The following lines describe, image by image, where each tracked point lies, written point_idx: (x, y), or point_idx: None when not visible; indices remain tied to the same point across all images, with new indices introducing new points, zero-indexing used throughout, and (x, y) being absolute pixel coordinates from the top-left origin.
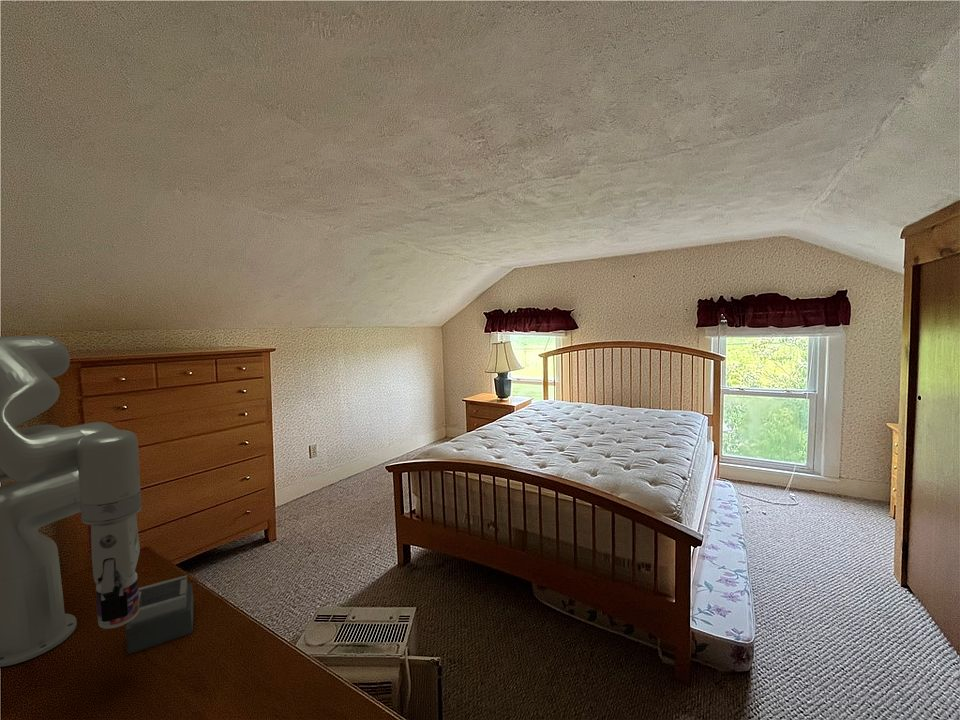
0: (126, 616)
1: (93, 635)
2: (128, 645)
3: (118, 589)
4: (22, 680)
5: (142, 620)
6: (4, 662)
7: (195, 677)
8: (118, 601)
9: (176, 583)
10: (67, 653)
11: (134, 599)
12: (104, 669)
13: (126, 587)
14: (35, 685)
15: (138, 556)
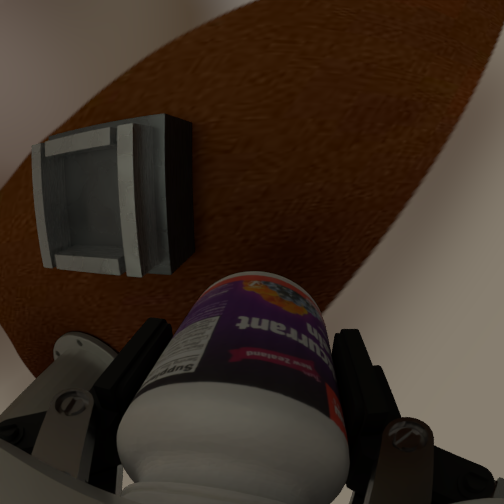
0: (322, 321)
1: (107, 309)
2: (186, 255)
3: (487, 479)
4: None
5: (154, 238)
6: None
7: (365, 115)
8: (396, 415)
9: (48, 169)
10: None
11: (295, 324)
12: None
13: (341, 431)
14: None
15: (57, 492)
